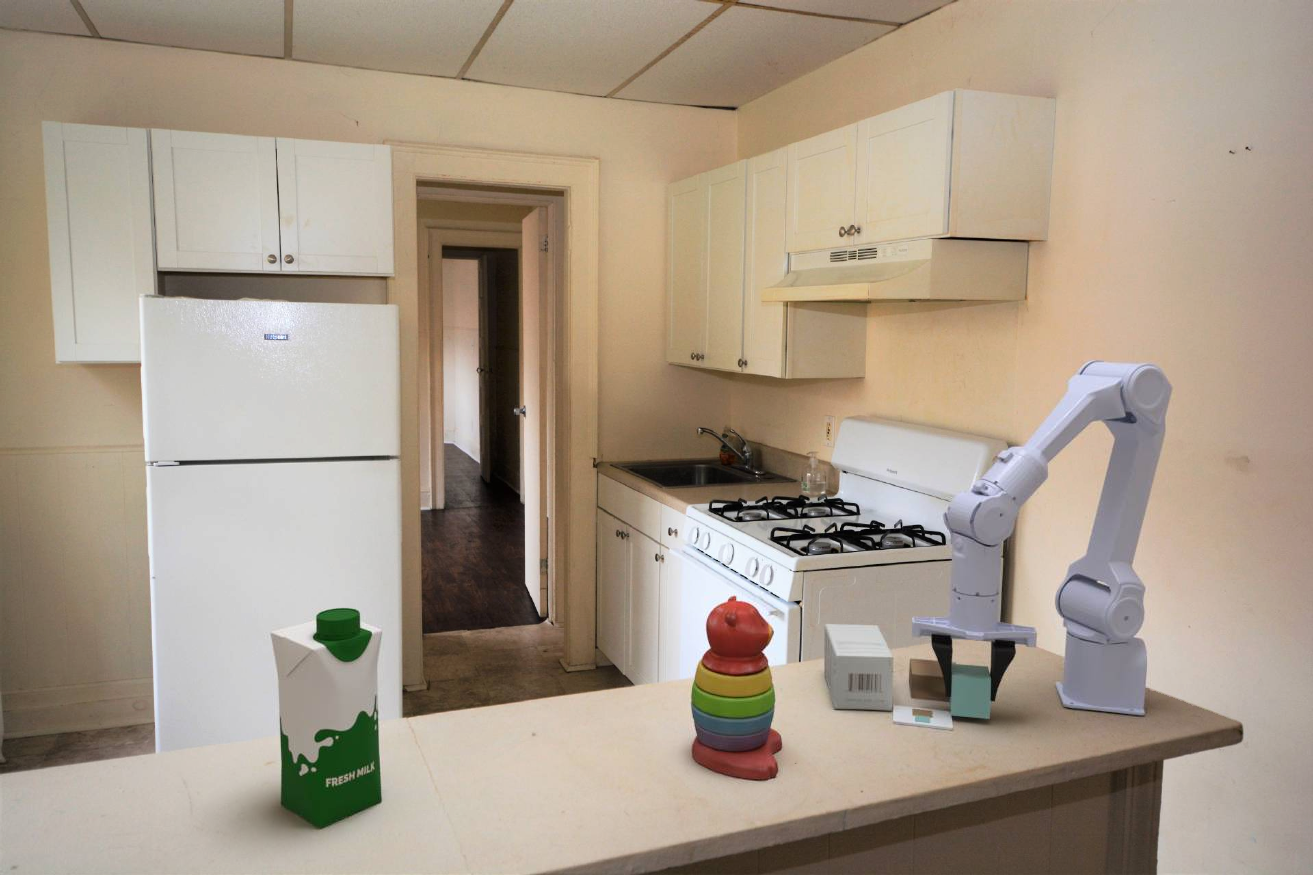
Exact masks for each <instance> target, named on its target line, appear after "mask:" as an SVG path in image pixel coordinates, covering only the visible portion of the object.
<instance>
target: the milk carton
mask: <svg viewBox="0 0 1313 875" xmlns="http://www.w3.org/2000/svg"><path fill="white" fill-rule="evenodd" d="M315 617H316V618H315V619H314V620H312V621H311V620H310V621H307V622H304V623H299V624H295V625H291V626H287V627H284V628H279V629H276V630H272V631H270V638H271V644H272V649H273V653H274V655H273V656H274V662H275V666H276V672H277V681H278V682H277V683H278V686H277V687H278V705H279V706H278V708H279V709H278V710H279V734H280V735H279V736H280V737H279V738H280V760H281V762H280V763H281V764H280V765H281V767H280V768H281V770H280V772H281V774H280V776H281V777H280V779H281V780H280V805H281V806H283V807H284V808H286V809H287V810H289V811H291V812H292V813H294V814H296V815H297V816H298V817H300V818H302V819H303V820H305V821H307V822H308V823H310V824H311V825H313V826H314V827H316V828H317V829H323V828H324V827H327V826H330V825H331V824H334V823H336V822H339V821H340V820H343V819H345V818H347V817H349V816H352V815H354V814H356V813H359V812H361V811H363V810H365V809H368V808H370V807H372V806H375V805H377V804H379V803H381V802H383V798H382V778H381V774H382V773H381V760H380V759H381V758H380V757H381V756H380V739H379V738H380V735H379V734H380V733H379V732H380V730H379V726H380V725H379V692H378V690H379V689H378V686H379V684H378V662H379V656H380V648H381V642H382V638H383V637H382V636H383V629H380V628H378V627H376V626H374V625H371V624H368V623H365V622H362V621H361V613H360V611H359V610H357V609H356V608H349V607H338V608H331V609H326V610H323V611H322V610H321V611H320V612H318V613H317V614H316V616H315Z"/></svg>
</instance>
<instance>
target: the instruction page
mask: <svg viewBox="0 0 1313 875" xmlns="http://www.w3.org/2000/svg"><path fill="white" fill-rule="evenodd" d="M892 710H893V711H892V713H893V714H892V715H893V716H892V724H895V725H896V724H897V725H903V726H904V725H905V726H914V727H919V728H920V727H921V728H928V729H929V728H930V729H936V730H937V729H938V730H947V731H953V730H954V727H953V717H952V716H953V715H951V710H950V711H948V710H938V709H933V708H932V709H931V708H923V707H921V708H920V707H913V706H904V705H896V704H895V705H893V709H892Z"/></svg>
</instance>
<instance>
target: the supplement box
mask: <svg viewBox="0 0 1313 875" xmlns="http://www.w3.org/2000/svg"><path fill="white" fill-rule="evenodd" d="M823 626H824V627H823V628H824V631H823V632H824V637H823V640H824V641H823V642H824V648H823V649H824V651H823V653H824V659H823V660H824V664H823V665H824V667H823V668H824V670H823V674H824V676H825V680H826V683H827V686H828V689H829V693H830V697H831V701H832V704H833V708H834V709H835V710H872V711H873V710H875V711H889V712H890V711H892V710H893V709H892V707H893V678H894V676H893V673H894V655H893V654H892V652H891V649H890V647H889V645H888V644H887V641H886V640H885V637H884V636H883V634H882V632H881V630H880V628H879V626H878V625H876V624H874V625H873V624H872V625H871V624H840V623H833V624H832V623H825V624H824V625H823Z"/></svg>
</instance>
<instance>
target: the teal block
mask: <svg viewBox="0 0 1313 875" xmlns="http://www.w3.org/2000/svg"><path fill="white" fill-rule="evenodd" d="M951 681H952V687H951V697H950V702H949V707H950V709H949V710H950V712H951V715H952V716H953V717H963V718H964V717H965V718H975V719H976V718H977V719H986V720H990V718H991V701H990V696H991V677H990V669H989V666H987V665H986V666H985V665H973V664H960V663H956V664H952V668H951Z"/></svg>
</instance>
